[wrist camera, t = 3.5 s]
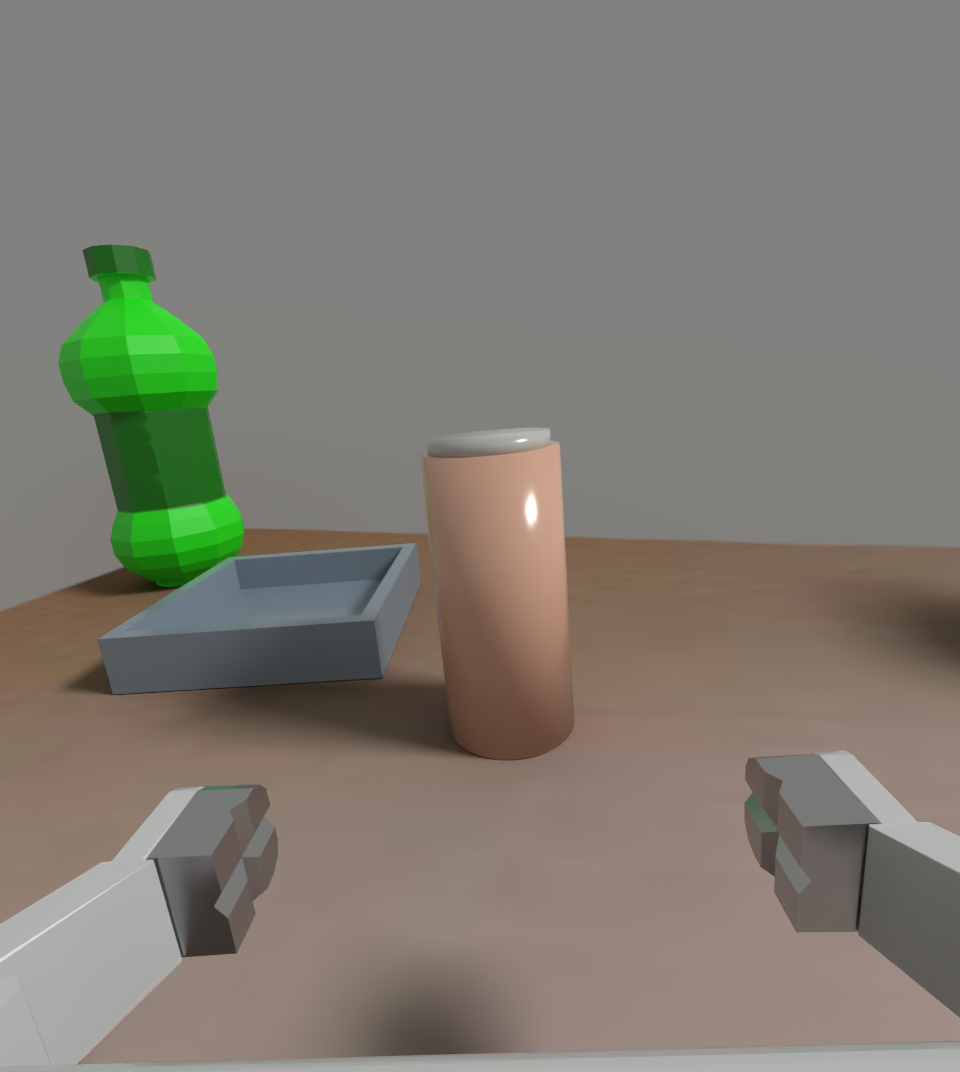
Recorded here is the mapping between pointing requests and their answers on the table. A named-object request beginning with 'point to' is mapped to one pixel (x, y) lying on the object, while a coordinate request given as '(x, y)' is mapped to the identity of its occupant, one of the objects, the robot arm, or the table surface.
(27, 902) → the table surface
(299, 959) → the table surface
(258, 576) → the shallow grey tray
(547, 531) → the pink cylindrical can
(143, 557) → the plastic bottle
